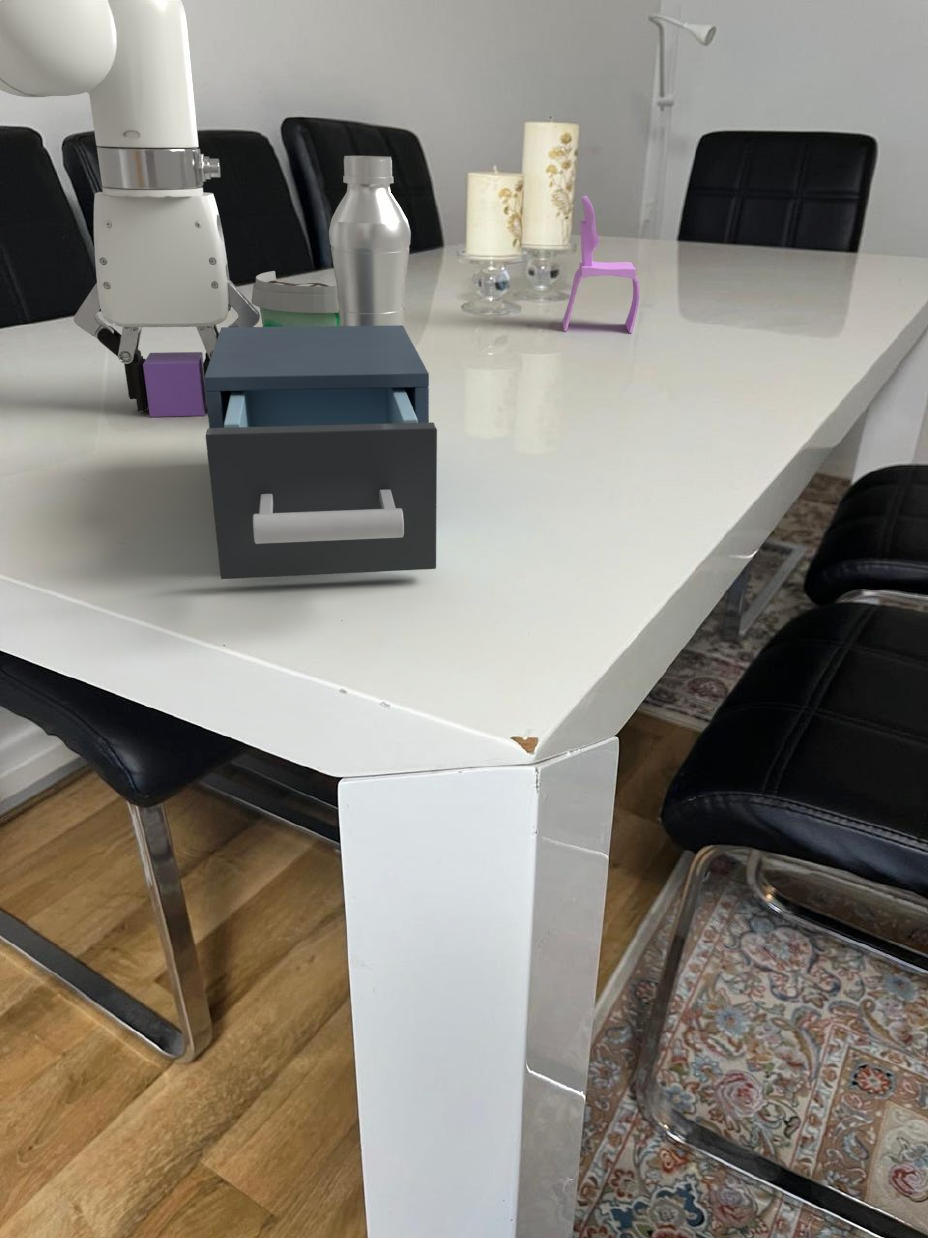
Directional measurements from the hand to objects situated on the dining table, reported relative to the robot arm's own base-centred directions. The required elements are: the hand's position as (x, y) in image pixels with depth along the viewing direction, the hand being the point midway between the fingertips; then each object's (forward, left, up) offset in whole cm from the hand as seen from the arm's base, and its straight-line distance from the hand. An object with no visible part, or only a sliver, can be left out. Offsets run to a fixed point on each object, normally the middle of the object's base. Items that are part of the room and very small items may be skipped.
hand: (178, 404), depth 83 cm
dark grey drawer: (-6, -35, 0) cm, 35 cm away
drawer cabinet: (-1, -25, 0) cm, 25 cm away
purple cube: (0, 0, 0) cm, 0 cm away
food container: (+11, -2, -1) cm, 11 cm away
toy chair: (+58, +6, -1) cm, 58 cm away
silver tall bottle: (+12, -12, -1) cm, 17 cm away
